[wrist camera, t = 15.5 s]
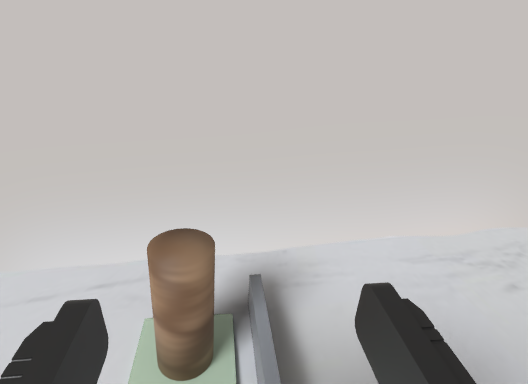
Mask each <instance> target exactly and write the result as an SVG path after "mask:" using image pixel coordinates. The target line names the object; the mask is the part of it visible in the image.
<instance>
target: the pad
mask: <svg viewBox="0 0 528 384" xmlns="http://www.w3.org/2000/svg"><path fill="white" fill-rule="evenodd" d="M128 384H236V369H235V351H234V334H233V316H232V314H217V315H214V348H213V359H212V362H211V364H210V366H209V367H208V368H207V369H206V371H205V372H203V373H202V374H201V375H199V376H198V377H196V378H193V379H191V380H187V381H175V380H171V379H169V378H167V377H166V376H164V375H163V374H162V373H161V371H160V370H159V367H158V363H157V353H156V342H155V331H154V320H153V318H148V319H145V320H144V324H143V328H142V332H141V336H140V339H139V343H138V347H137V351H136V355H135V358H134V362H133V366H132V370H131V374H130V378H129V381H128Z"/></svg>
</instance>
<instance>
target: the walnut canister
mask: <svg viewBox="0 0 528 384" xmlns="http://www.w3.org/2000/svg"><path fill="white" fill-rule="evenodd" d="M147 255H148V266H149V277H150V288H151V299H152V309H153V320H154V331H155V342H156V353H157V363H158V367H159V370H160V371H161V373H162V374H163V375H164V376H166V377H167V378H169V379H171V380H175V381H187V380H191V379H193V378H196V377H198V376H199V375H201V374H202V373H203V372H205V371H206V369H207V368H208V367H209V366H210V364H211V362H212V359H213V348H214V273H215V242H214V240H213V238H212V237H211V236H210V235H208V234H207V233H205V232H203V231H199V230H196V229H174V230H170V231H167V232H164V233H161V234H159V235H158V236H156V237H154V238H153V239H152V240H151V241H150V243H149V244H148V247H147Z"/></svg>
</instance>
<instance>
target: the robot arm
mask: <svg viewBox="0 0 528 384" xmlns="http://www.w3.org/2000/svg"><path fill="white" fill-rule="evenodd" d="M355 328H356V333H357V336H358V339H359V341H360V343H361V346H362V348H363V350H364V352H365V354H366V357H367V359H368V361H369V363H370V365H371V368H372V370H373V372H374V374H375V376H376V379H377V381H378V383H379V384H476V383H475V381H474V380H473V378H472V377H471V376H470V374H469V373H468V372H467V370H466V369H465V368H464V366H463V365H462V363H461V362H460V361H459V359H458V358H457V357H456V355H455V354H454V353H453V351H452V350H451V348H450V347H449V346H448V344H447V343H445V342H444V339H443V338H442V336H441V335H440V333H439V332H438V331H437V329H436V330H435V328H434V325H433V324H432V322H431V321H430V320H429V318H428V317H427V316H426V314H425V313H424V312H423V311H422V310H421V309H420V308H419V307H417V306H416V305H415V304H414V303H412V302H411V301H410V300H409V299H401V297H400V296H399V294H398V293H397V292H396V290H395V289H394V287H393V286H392V285H391V284H390V283H373V284H365V285H364V286H363V288H362V291H361V295H360V300H359V304H358V308H357V312H356V316H355ZM107 350H108V333H107V329H106V326H105V322H104V318H103V314H102V310H101V307H100V303H99V301H98V300H97V299H87V300H70V301H66V302H65V303H64V304H63V306H62V307H61V309H60V311H59V313H58V314H57V316H56V318H55V320H54V321H51V322H43V323H42V324H41V325H40V326H39V327H37V328H36V329H35V330H34V331H33V332H32V333H31V334H30V335H29V336H27V337H26V338H25V339H24V341H23V342H22V344H21V345H20V347H19V349H18V350H17V352H16V353H15V355H14V356H13V358H12V362H11V363H9V364H8V366H7V367H6V369H5V370H4V372H3V374H2V375H1V379H0V384H97V381H98V378H99V376H100V373H101V370H102V367H103V364H104V361H105V358H106V355H107Z"/></svg>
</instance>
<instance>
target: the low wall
mask: <svg viewBox="0 0 528 384" xmlns="http://www.w3.org/2000/svg"><path fill="white" fill-rule="evenodd" d="M248 306H249V314H250V322H251V331H252V339H253V347H254V356H255V364H256V373H257V381H258V384H281V381H280V376H279V370H278V365H277V360H276V354H275V349H274V344H273V338H272V333H271V328H270V322H269V317H268V312H267V306H266V301H265V296H264V290H263V285H262V280H261V274H258V275H250V278H249V296H248Z"/></svg>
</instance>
